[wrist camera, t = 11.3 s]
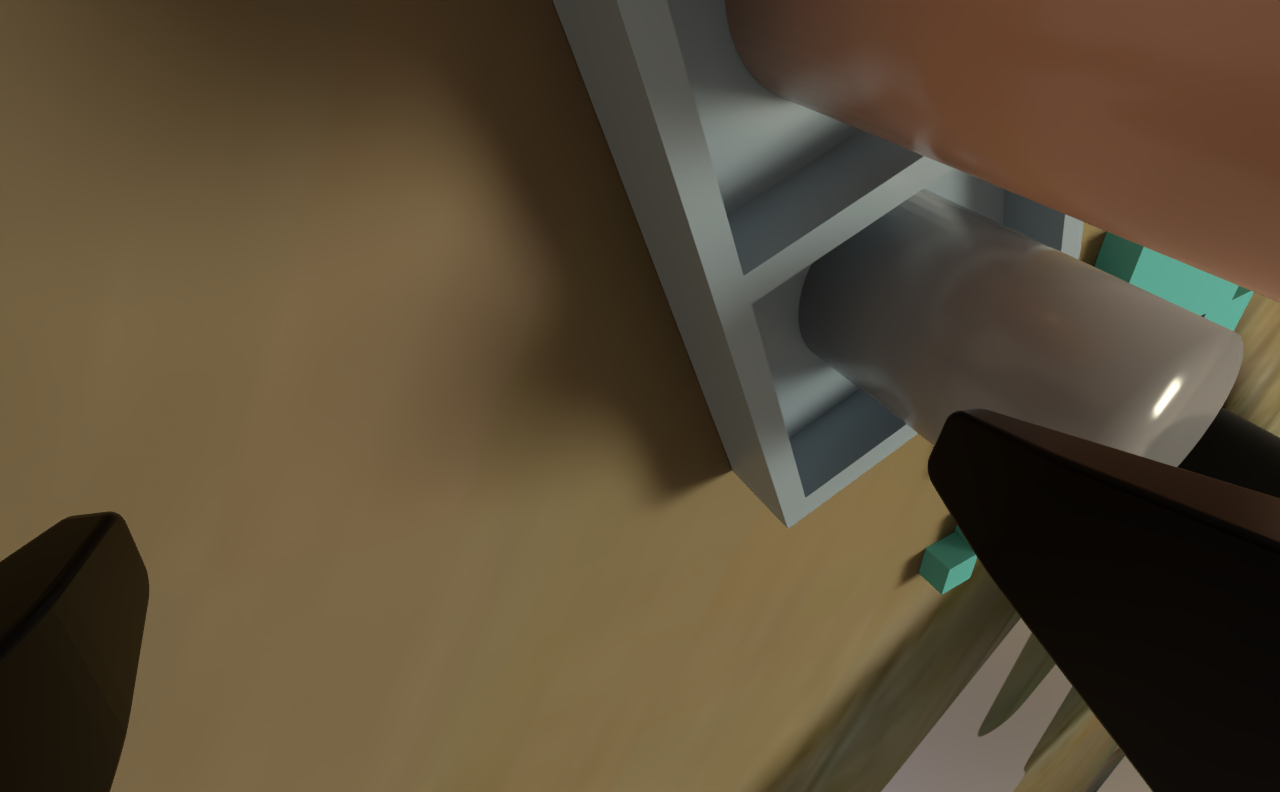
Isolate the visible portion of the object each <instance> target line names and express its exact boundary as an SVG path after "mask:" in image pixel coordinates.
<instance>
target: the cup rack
mask: <svg viewBox="0 0 1280 792" xmlns="http://www.w3.org/2000/svg"><path fill="white" fill-rule="evenodd" d="M553 2H554V5H555V8H556V10H557V13H558V15H559V18H560V21H561V23H562V26H563V28H564V31H565V34H566V36H567V39H568V41H569V44H570V47H571V49H572V52H573V55H574V57H575V60H576V62H577V65H578V68H579V70H580V73H581V75H582V78H583V81H584V83H585V86H586V89H587V91H588V94H589V96H590V99H591V102H592V104H593V107H594V109H595V112H596V115H597V117H598V120H599V122H600V125H601V128H602V130H603V133H604V136H605V138H606V141H607V143H608V146H609V149H610V151H611V154H612V156H613V159H614V162H615V164H616V167H617V169H618V172H619V175H620V177H621V180H622V183H623V185H624V188H625V190H626V193H627V196H628V198H629V201H630V203H631V206H632V209H633V211H634V214H635V216H636V219H637V222H638V224H639V227H640V230H641V232H642V235H643V237H644V240H645V243H646V245H647V248H648V250H649V253H650V256H651V258H652V261H653V264H654V266H655V269H656V271H657V274H658V277H659V279H660V282H661V284H662V287H663V290H664V292H665V295H666V297H667V300H668V303H669V305H670V308H671V311H672V313H673V316H674V318H675V321H676V324H677V326H678V329H679V331H680V334H681V337H682V339H683V342H684V344H685V347H686V350H687V352H688V355H689V358H690V360H691V363H692V365H693V368H694V371H695V373H696V376H697V378H698V381H699V384H700V386H701V389H702V391H703V394H704V397H705V399H706V402H707V405H708V407H709V410H710V412H711V415H712V418H713V420H714V423H715V425H716V428H717V431H718V433H719V436H720V439H721V441H722V444H723V446H724V449H725V452H726V454H727V457H728V459H729V462H730V465H731V467H732V470H733V472H734V473H735V474H736V475H737V476H738V477H739V478H740V479H741V480H742V481H743V482H744V483H745V484H746V485H747V486H748V487H749V488H750V490H751V491H752V492H753V493H754V494H755V495H756V496H757V497H758V498H759V499H760V500H761V501H762V502H763V503H764V504H765V505H766V506H767V507H768V508H769V509H770V511H771V512H772V513H773V514H774V515H775V516H776V517H777V518H778V519H779V520H780V521H781V522H782V523H783V524H784V525H785V526H786V527H787V528H788V529H789V528H790V527H791V526H793V525H794V524H795V523H797V522H798V521H799V520H801V519H802V518H804V517H805V516H806V515H808V514H809V513H810V512H812V511H813V510H814V509H816V508H817V507H819V506H820V505H821V504H823V503H824V502H825V501H827V500H828V499H829V498H831V497H832V496H834V495H835V494H836V493H838V492H839V491H840V490H842V489H843V488H844V487H846V486H847V485H849V484H850V483H851V482H853V481H854V480H855V479H857V478H858V477H859V476H861V475H862V474H864V473H865V472H866V471H868V470H869V469H870V468H872V467H873V466H874V465H876V464H877V463H878V462H880V461H881V460H883V459H884V458H885V457H887V456H888V455H889V454H891V453H892V452H893V451H895V450H896V449H898V448H899V447H900V446H902V445H903V444H904V443H906V442H907V441H908V440H910V439H911V438H913V437H914V436H915V435H917V434H918V433H917V432H916V431H914V430H913V429H912V428H910V427H909V426H908V425H906V424H905V423H904V422H903V421H901V420H900V419H899V418H897V417H896V416H895V415H893V414H892V413H891V412H889V411H888V410H887V409H886V408H884V407H883V406H882V405H880V404H879V403H878V402H876V401H875V400H874V399H873V398H871V397H870V396H869V395H867V394H866V393H865V392H863V391H862V390H861V389H859V388H858V387H857V386H856V385H854V384H853V383H852V382H850V381H849V380H848V379H846V378H845V377H844V376H842V375H841V374H840V373H839V372H837V371H836V370H835V369H833V368H832V367H831V366H829V365H828V364H827V363H825V362H824V361H823V360H822V359H820V358H819V357H818V356H816V355H815V354H814V353H812V352H811V351H810V350H809V348H808V347H807V346H806V344H805V342H804V340H803V339H802V335H801V332H800V328H799V321H798V310H799V301H800V296H801V291H802V287H803V284H804V281H805V278H806V275H807V273H808V271H809V268H810V266H811V264H812V263H813V262H815V261H816V260H818V259H819V258H821V257H822V256H824V255H825V254H827V253H828V252H830V251H831V250H833V249H834V248H836V247H837V246H838V245H840V244H841V243H843V242H844V241H846V240H847V239H849V238H850V237H852V236H853V235H855V234H856V233H858V232H859V231H861V230H862V229H864V228H865V227H867V226H868V225H870V224H871V223H873V222H874V221H876V220H877V219H879V218H880V217H882V216H883V215H885V214H886V213H888V212H889V211H891V210H892V209H894V208H895V207H897V206H898V205H900V204H901V203H902V202H904V201H905V200H907V199H908V198H910V197H911V196H913V195H914V194H916V193H917V192H919V191H920V190H922V189H923V188H924V189H926V190H928V191H931V192H933V193H935V194H937V195H939V196H942V197H944V198H946V199H948V200H950V201H952V202H955V203H957V204H959V205H961V206H963V207H965V208H968V209H970V210H972V211H974V212H976V213H978V214H981V215H983V216H985V217H987V218H989V219H991V220H994V221H996V222H998V223H1000V224H1002V225H1004V226H1007V227H1009V228H1011V229H1013V230H1015V231H1017V232H1020V233H1022V234H1024V235H1026V236H1028V237H1030V238H1033V239H1035V240H1037V241H1039V242H1041V243H1043V244H1046V245H1048V246H1050V247H1052V248H1054V249H1056V250H1059V251H1061V252H1063V253H1065V254H1067V255H1069V256H1072V257H1074V258H1076V259H1078V260H1079V256H1080V249H1081V241H1082V233H1083V225H1084V222H1083V221H1080V220H1078V219H1075V218H1073V217H1071V216H1068V215H1066V214H1063V213H1061V212H1058V211H1056V210H1054V209H1051V208H1049V207H1046V206H1044V205H1041V204H1039V203H1037V202H1034V201H1032V200H1029V199H1027V198H1024V197H1022V196H1019V195H1017V194H1015V193H1012V192H1010V191H1007V190H1005V189H1002V188H1000V187H998V186H995V185H993V184H990V183H988V182H985V181H983V180H981V179H978V178H976V177H973V176H971V175H968V174H966V173H964V172H961V171H959V170H956V169H954V168H951V167H949V166H947V165H944V164H942V163H939V162H937V161H934V160H932V159H930V158H927V157H925V156H922V155H920V154H917V153H915V152H912V151H910V150H908V149H905V148H903V147H900V146H898V145H895V144H893V143H891V142H888V141H886V140H883V139H881V138H878V137H876V136H874V135H871V134H869V133H866V132H864V131H861V130H859V129H857V128H854V127H852V126H849V125H847V124H844V123H842V122H840V121H837V120H835V119H832V118H830V117H827V116H825V115H823V114H820V113H818V112H815V111H813V110H810V109H808V108H806V107H803V106H801V105H798V104H796V103H793V102H791V101H788V100H786V99H784V98H781V97H779V96H777V95H775V94H773V93H771V92H769V91H768V90H767V89H765V88H764V87H763V86H761V85H760V84H759V83H758V82H757V81H756V80H755V79H754V78H753V77H752V76H751V74H750V73H749V72H748V70H747V69H746V67H745V66H744V64H743V63H742V61H741V59H740V57H739V55H738V53H737V51H736V48H735V46H734V43H733V40H732V37H731V34H730V30H729V25H728V20H727V16H726V6H725V0H553Z"/></svg>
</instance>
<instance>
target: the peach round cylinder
mask: <svg viewBox="0 0 1280 792" xmlns="http://www.w3.org/2000/svg"><path fill="white" fill-rule="evenodd" d="M725 6H726V16H727V20H728V25H729V30H730V34H731V37H732V40H733V43H734V46H735V48H736V51H737V53H738V55H739V57H740V59H741V61H742V63H743V64H744V66H745V67H746V69H747V70H748V72H749V73H750V74H751V76H752V77H753V78H754V79H755V80H756V81H757V82H758V83H759V84H760V85H761V86H763V87H764V88H765V89H767V90H768V91H769V92H771V93H773V94H775V95H777V96H779V97H781V98H784V99H786V100H788V101H791V102H793V103H796V104H798V105H801V106H803V107H806V108H808V109H810V110H813V111H815V112H818V113H820V114H823V115H825V116H827V117H830V118H832V119H835V120H837V121H840V122H842V123H844V124H847V125H849V126H852V127H854V128H857V129H859V130H861V131H864V132H866V133H869V134H871V135H874V136H876V137H878V138H881V139H883V140H886V141H888V142H891V143H893V144H895V145H898V146H900V147H903V148H905V149H908V150H910V151H912V152H915V153H917V154H920V155H922V156H925V157H927V158H930V159H932V160H934V161H937V162H939V163H942V164H944V165H947V166H949V167H951V168H954V169H956V170H959V171H961V172H964V173H966V174H968V175H971V176H973V177H976V178H978V179H981V180H983V181H985V182H988V183H990V184H993V185H995V186H998V187H1000V188H1002V189H1005V190H1007V191H1010V192H1012V193H1015V194H1017V195H1019V196H1022V197H1024V198H1027V199H1029V200H1032V201H1034V202H1037V203H1039V204H1041V205H1044V206H1046V207H1049V208H1051V209H1054V210H1056V211H1058V212H1061V213H1063V214H1066V215H1068V216H1071V217H1073V218H1075V219H1078V220H1080V221H1083V222H1085V223H1088V224H1090V225H1092V226H1095V227H1097V228H1100V229H1102V230H1105V231H1107V232H1109V233H1112V234H1114V235H1117V236H1119V237H1122V238H1124V239H1126V240H1129V241H1131V242H1134V243H1136V244H1139V245H1141V246H1144V247H1146V248H1148V249H1151V250H1153V251H1156V252H1158V253H1161V254H1163V255H1165V256H1168V257H1170V258H1173V259H1175V260H1178V261H1180V262H1182V263H1185V264H1187V265H1190V266H1192V267H1195V268H1197V269H1199V270H1202V271H1204V272H1207V273H1209V274H1212V275H1214V276H1216V277H1219V278H1221V279H1224V280H1226V281H1229V282H1231V283H1233V284H1236V285H1238V286H1241V287H1243V288H1246V289H1248V290H1250V291H1253V292H1255V293H1258V294H1260V295H1263V296H1265V297H1268V298H1270V299H1272V300H1275V301H1277V302H1280V0H725Z"/></svg>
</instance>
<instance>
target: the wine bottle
mask: <svg viewBox="0 0 1280 792" xmlns="http://www.w3.org/2000/svg"><path fill="white" fill-rule="evenodd" d="M1178 468H1181V469H1184V470H1188V471H1191V472H1194V473H1197V474H1201V475H1204V476H1207V477H1210V478H1214V479H1217V480H1220V481H1224V482H1227V483H1230V484H1233V485H1237V486H1240V487H1243V488H1247V489H1250V490H1253V491H1256V492H1260V493H1263V494H1266V495H1270V496H1273V497H1276V498H1279V499H1280V438H1279V437H1277V436H1275V435H1273V434H1272V433H1270V432H1268V431H1266V430H1264V429H1262V428H1260V427H1258V426H1257V425H1255V424H1253V423H1251V422H1249V421H1247V420H1245V419H1243V418H1241V417H1240V416H1238V415H1236V414H1234V413H1232V412H1230V411H1228V410H1226V409H1225V408H1221V409H1220V411H1219V412H1218V414H1217V416H1216V417H1215V419H1214V420H1213V422H1212V423H1211V425H1210V426H1209V427H1208V429H1207V430H1206V432H1205V433H1204V435H1203V436H1202V437H1201V439H1200V440H1199V441H1198V443H1197V444H1196V445H1195V446H1194V448H1193V449H1192V450H1191V451H1190V453H1189V454H1188V455H1187V456H1186V458H1185V459H1184V460H1183V461H1182V462H1181V463H1180V464H1179V466H1178Z"/></svg>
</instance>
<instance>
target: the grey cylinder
mask: <svg viewBox="0 0 1280 792" xmlns="http://www.w3.org/2000/svg"><path fill="white" fill-rule="evenodd" d="M798 321H799V328H800V332H801V335H802V339H803V340H804V342H805V344H806V346H807V347H808V348H809V350H810V351H811V352H812V353H814V354H815V355H816V356H818V357H819V358H820V359H822V360H823V361H824V362H825V363H827V364H828V365H829V366H831V367H832V368H833V369H835V370H836V371H837V372H839V373H840V374H841V375H842V376H844V377H845V378H846V379H848V380H849V381H850V382H852V383H853V384H854V385H856V386H857V387H858V388H859V389H861V390H862V391H863V392H865V393H866V394H867V395H869V396H870V397H871V398H873V399H874V400H875V401H876V402H878V403H879V404H880V405H882V406H883V407H884V408H886V409H887V410H888V411H889V412H891V413H892V414H893V415H895V416H896V417H897V418H899V419H900V420H901V421H903V422H904V423H905V424H906V425H908V426H909V427H910V428H912V429H913V430H914V431H916V432H917V433H918V434H920V435H921V436H922V437H923V438H925V439H926V440H927V441H929V442H930V443H931V444H933V445H934V446H935V443H936V441H937V439H938V436H939V434H940V432H941V430H942V427H943V425H944V423H945V421H946V419H947V417H948V416H949V415H950V414H951V413H953V412H955V411H959V410H967V409H975V408H981V409H987V410H991V411H994V412H997V413H1000V414H1004V415H1007V416H1010V417H1014V418H1017V419H1020V420H1023V421H1027V422H1030V423H1033V424H1037V425H1040V426H1043V427H1046V428H1050V429H1053V430H1056V431H1060V432H1063V433H1066V434H1069V435H1073V436H1076V437H1079V438H1082V439H1086V440H1089V441H1092V442H1096V443H1099V444H1102V445H1105V446H1109V447H1112V448H1115V449H1119V450H1122V451H1125V452H1128V453H1132V454H1135V455H1138V456H1142V457H1145V458H1148V459H1151V460H1155V461H1158V462H1161V463H1165V464H1168V465H1171V466H1174V467H1178V466H1179V464H1180V463H1181V462H1182V461H1183V460H1184V459H1185V458H1186V456H1187V455H1188V454H1189V453H1190V451H1191V450H1192V449H1193V448H1194V446H1195V445H1196V444H1197V443H1198V441H1199V440H1200V439H1201V437H1202V436H1203V435H1204V433H1205V432H1206V430H1207V429H1208V427H1209V426H1210V425H1211V423H1212V422H1213V420H1214V419H1215V417H1216V416H1217V414H1218V412H1219V411H1220V409H1221V407H1222V406H1223V404H1224V402H1225V401H1226V399H1227V397H1228V395H1229V393H1230V391H1231V389H1232V387H1233V385H1234V383H1235V380H1236V378H1237V375H1238V373H1239V370H1240V367H1241V363H1242V358H1243V348H1244V346H1243V341H1242V338H1241V337H1240V335H1239V334H1237V333H1236V332H1234V331H1232V330H1230V329H1228V328H1225V327H1223V326H1221V325H1219V324H1217V323H1215V322H1212V321H1210V320H1208V319H1206V318H1204V317H1202V316H1199V315H1197V314H1195V313H1193V312H1191V311H1189V310H1186V309H1184V308H1182V307H1180V306H1178V305H1176V304H1173V303H1171V302H1169V301H1167V300H1165V299H1163V298H1160V297H1158V296H1156V295H1154V294H1152V293H1150V292H1147V291H1145V290H1143V289H1141V288H1139V287H1137V286H1134V285H1132V284H1130V283H1128V282H1126V281H1124V280H1121V279H1119V278H1117V277H1115V276H1113V275H1111V274H1108V273H1106V272H1104V271H1102V270H1100V269H1098V268H1095V267H1093V266H1091V265H1089V264H1087V263H1085V262H1082V261H1080V260H1078V259H1076V258H1074V257H1072V256H1069V255H1067V254H1065V253H1063V252H1061V251H1059V250H1056V249H1054V248H1052V247H1050V246H1048V245H1046V244H1043V243H1041V242H1039V241H1037V240H1035V239H1033V238H1030V237H1028V236H1026V235H1024V234H1022V233H1020V232H1017V231H1015V230H1013V229H1011V228H1009V227H1007V226H1004V225H1002V224H1000V223H998V222H996V221H994V220H991V219H989V218H987V217H985V216H983V215H981V214H978V213H976V212H974V211H972V210H970V209H968V208H965V207H963V206H961V205H959V204H957V203H955V202H952V201H950V200H948V199H946V198H944V197H942V196H939V195H937V194H935V193H933V192H931V191H928V190H926V189H924V188H923V189H922V190H920V191H919V192H917V193H916V194H914V195H913V196H911V197H910V198H908V199H907V200H905V201H904V202H902V203H901V204H900V205H898V206H897V207H895V208H894V209H892V210H891V211H889V212H888V213H886V214H885V215H883V216H882V217H880V218H879V219H877V220H876V221H874V222H873V223H871V224H870V225H868V226H867V227H865V228H864V229H862V230H861V231H859V232H858V233H856V234H855V235H853V236H852V237H850V238H849V239H847V240H846V241H844V242H843V243H841V244H840V245H838V246H837V247H836V248H834V249H833V250H831V251H830V252H828V253H827V254H825V255H824V256H822V257H821V258H819V259H818V260H816V261H815V262H813V263H812V264H811V266H810V268H809V271H808V273H807V275H806V278H805V281H804V284H803V287H802V291H801V296H800V301H799V310H798Z"/></svg>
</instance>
